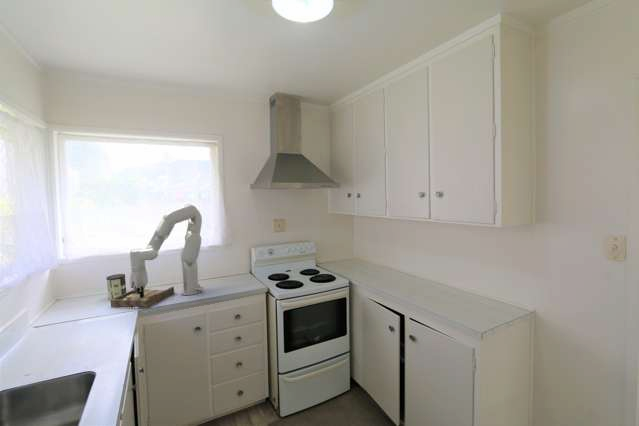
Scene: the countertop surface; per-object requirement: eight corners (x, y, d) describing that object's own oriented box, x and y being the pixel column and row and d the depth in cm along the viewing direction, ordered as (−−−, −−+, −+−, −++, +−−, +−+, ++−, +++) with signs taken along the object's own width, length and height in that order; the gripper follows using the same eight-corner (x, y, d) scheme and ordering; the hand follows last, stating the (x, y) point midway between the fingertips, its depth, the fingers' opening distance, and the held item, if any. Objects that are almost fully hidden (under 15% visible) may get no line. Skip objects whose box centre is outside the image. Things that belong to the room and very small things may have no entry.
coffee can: (122, 292, 201) (120, 273, 200) (129, 295, 196) (128, 275, 195) (105, 297, 193) (103, 277, 191) (112, 300, 187) (110, 279, 186)
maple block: (140, 300, 181) (139, 294, 181) (133, 303, 176) (133, 297, 176) (133, 299, 182) (132, 293, 182) (126, 303, 177) (126, 296, 177)
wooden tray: (174, 293, 198) (173, 286, 197) (146, 308, 173) (146, 301, 172) (142, 292, 201) (141, 285, 201) (111, 307, 177) (110, 300, 176)
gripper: (142, 265, 190) (144, 292, 192) (123, 272, 176) (126, 301, 177) (152, 265, 189) (154, 292, 191) (134, 272, 175) (137, 301, 176)
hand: (141, 297), depth 184 cm, fingers closed
